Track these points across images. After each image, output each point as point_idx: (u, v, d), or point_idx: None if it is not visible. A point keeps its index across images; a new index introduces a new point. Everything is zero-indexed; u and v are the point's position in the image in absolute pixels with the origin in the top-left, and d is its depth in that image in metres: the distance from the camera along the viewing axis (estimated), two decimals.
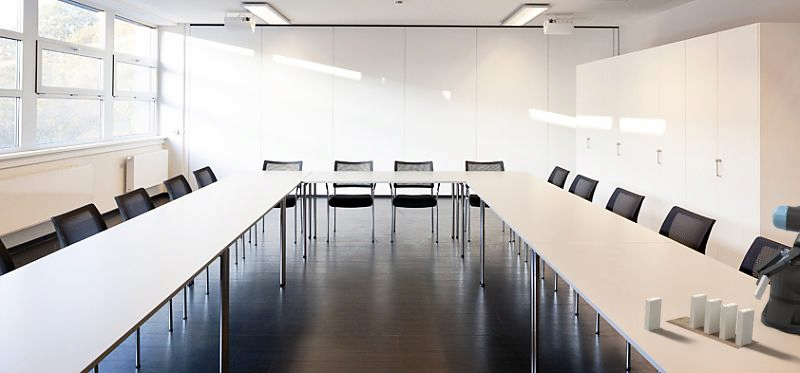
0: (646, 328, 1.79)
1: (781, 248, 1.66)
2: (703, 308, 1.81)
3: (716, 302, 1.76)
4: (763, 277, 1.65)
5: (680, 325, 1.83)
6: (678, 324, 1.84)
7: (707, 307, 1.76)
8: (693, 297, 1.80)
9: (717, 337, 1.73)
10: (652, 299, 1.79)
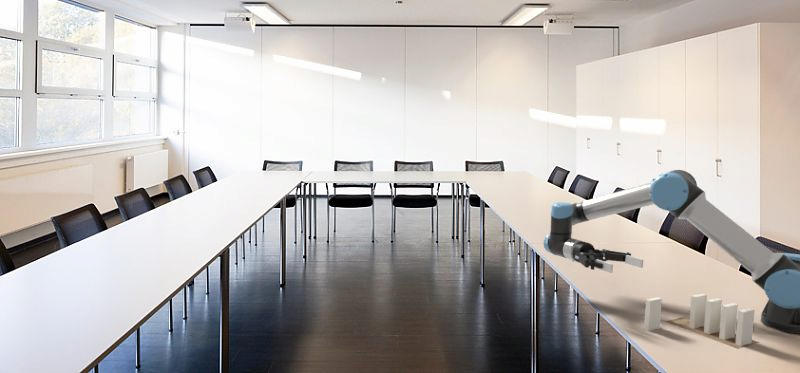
0: (646, 328, 1.79)
1: (603, 256, 2.04)
2: (703, 308, 1.81)
3: (716, 302, 1.76)
4: None
5: (680, 325, 1.83)
6: (678, 324, 1.84)
7: (707, 307, 1.76)
8: (693, 297, 1.80)
9: (717, 337, 1.73)
10: (652, 299, 1.79)
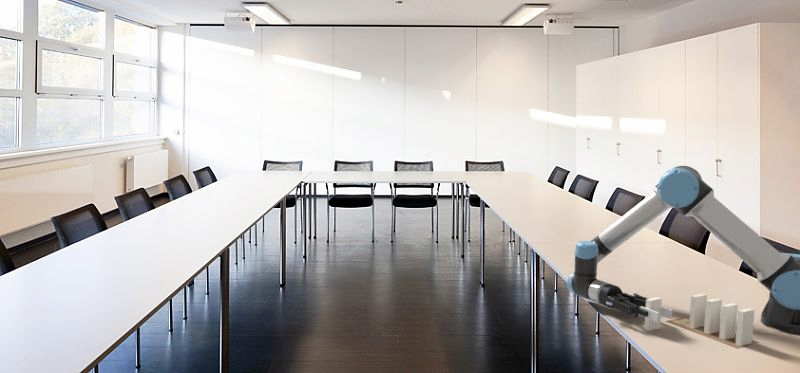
0: (646, 328, 1.79)
1: None
2: (703, 308, 1.81)
3: (716, 302, 1.76)
4: None
5: (680, 325, 1.83)
6: (678, 324, 1.84)
7: (707, 307, 1.76)
8: (693, 297, 1.80)
9: (717, 337, 1.73)
10: (652, 299, 1.79)
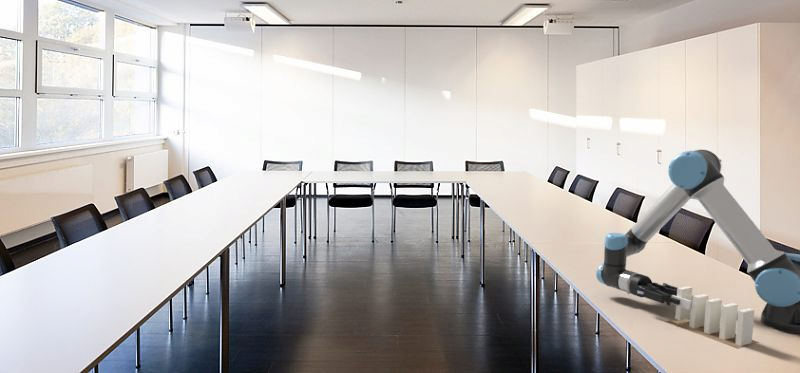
0: (677, 316, 1.85)
1: None
2: (704, 308, 1.81)
3: (716, 302, 1.76)
4: None
5: (680, 325, 1.83)
6: (678, 324, 1.84)
7: (707, 307, 1.76)
8: (695, 297, 1.79)
9: (717, 337, 1.73)
10: (683, 288, 1.85)
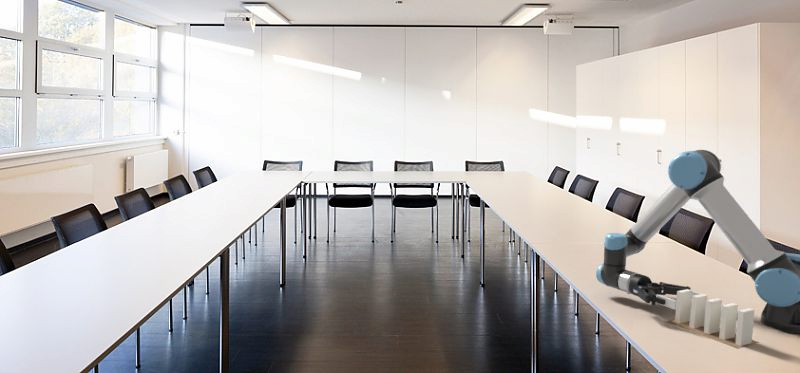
0: (677, 319, 1.85)
1: None
2: (704, 308, 1.81)
3: (716, 302, 1.76)
4: None
5: (680, 325, 1.83)
6: (678, 324, 1.84)
7: (707, 307, 1.76)
8: (694, 297, 1.80)
9: (717, 337, 1.73)
10: (683, 291, 1.85)
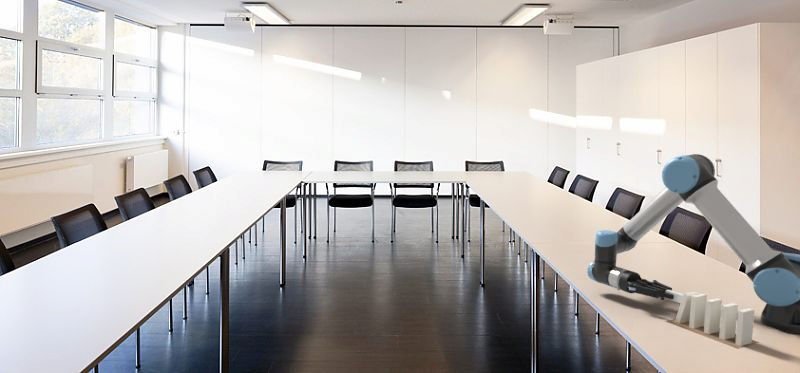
0: (678, 319, 1.85)
1: None
2: (703, 308, 1.81)
3: (716, 302, 1.76)
4: None
5: (680, 325, 1.83)
6: (678, 324, 1.84)
7: (707, 307, 1.76)
8: (693, 297, 1.80)
9: (717, 337, 1.73)
10: (690, 293, 1.83)
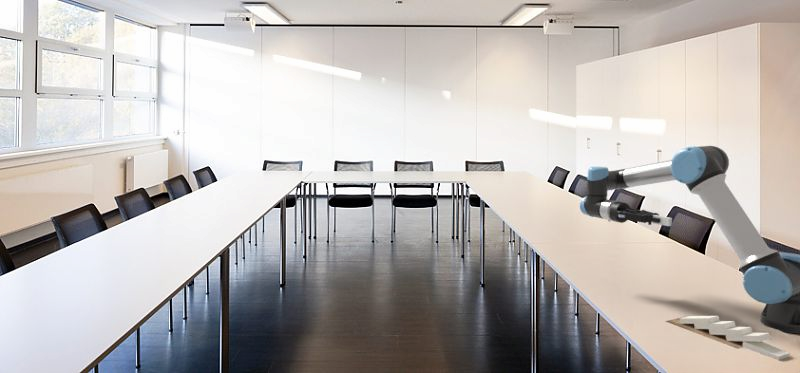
0: (682, 321, 1.84)
1: None
2: None
3: (744, 333, 1.68)
4: None
5: (680, 325, 1.83)
6: (678, 324, 1.84)
7: (733, 331, 1.69)
8: (723, 326, 1.72)
9: (717, 337, 1.73)
10: (712, 320, 1.77)
